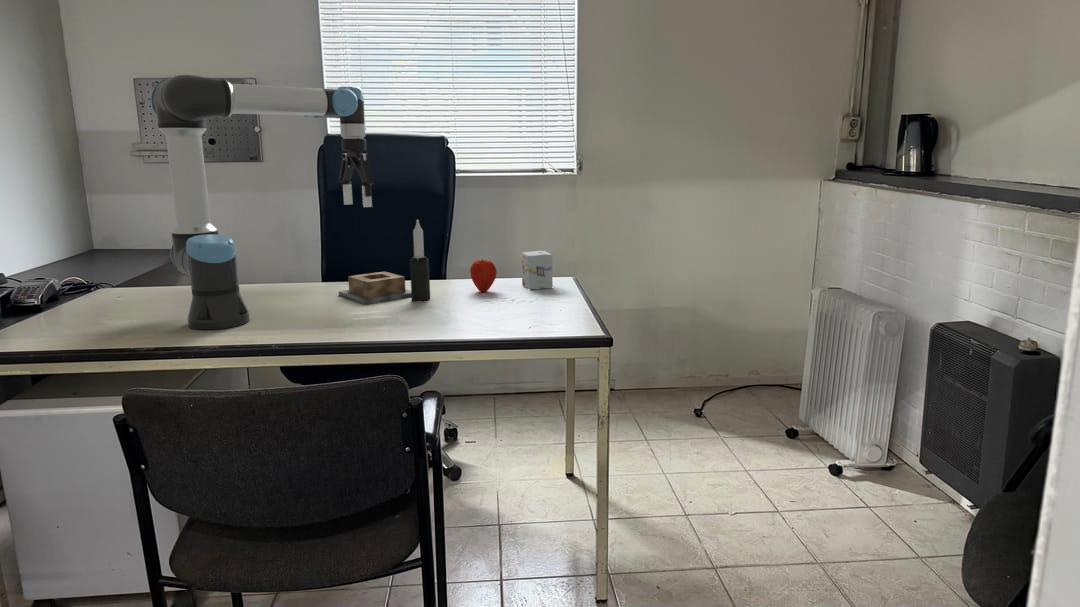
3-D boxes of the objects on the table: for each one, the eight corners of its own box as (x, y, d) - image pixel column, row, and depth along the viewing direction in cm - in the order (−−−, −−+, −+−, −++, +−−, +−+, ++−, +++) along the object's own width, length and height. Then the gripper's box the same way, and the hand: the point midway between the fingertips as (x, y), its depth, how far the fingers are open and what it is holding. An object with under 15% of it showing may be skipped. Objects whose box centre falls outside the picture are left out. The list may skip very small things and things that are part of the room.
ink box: (521, 285, 234) (521, 251, 232) (545, 283, 237) (545, 250, 234) (528, 290, 226) (528, 254, 224) (553, 288, 229) (553, 253, 226)
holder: (364, 304, 207) (363, 284, 205) (338, 295, 220) (337, 276, 219) (416, 295, 218) (415, 276, 217) (388, 287, 232) (387, 269, 230)
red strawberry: (498, 289, 228) (498, 257, 226) (494, 294, 220) (493, 261, 218) (473, 288, 229) (472, 256, 227) (468, 294, 221) (467, 261, 218)
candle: (431, 298, 215) (427, 218, 209) (427, 301, 210) (423, 220, 204) (415, 298, 215) (411, 218, 210) (410, 301, 210) (406, 220, 205)
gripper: (383, 137, 209) (387, 207, 214) (347, 138, 227) (351, 202, 232) (360, 137, 204) (365, 208, 209) (325, 138, 223) (330, 204, 227)
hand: (357, 205), depth 221 cm, fingers open, 13 cm apart
